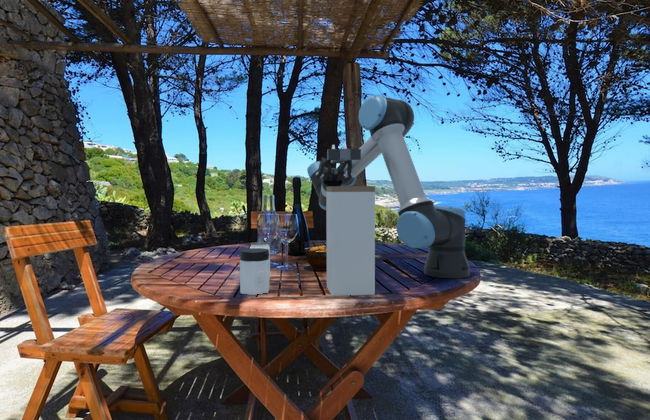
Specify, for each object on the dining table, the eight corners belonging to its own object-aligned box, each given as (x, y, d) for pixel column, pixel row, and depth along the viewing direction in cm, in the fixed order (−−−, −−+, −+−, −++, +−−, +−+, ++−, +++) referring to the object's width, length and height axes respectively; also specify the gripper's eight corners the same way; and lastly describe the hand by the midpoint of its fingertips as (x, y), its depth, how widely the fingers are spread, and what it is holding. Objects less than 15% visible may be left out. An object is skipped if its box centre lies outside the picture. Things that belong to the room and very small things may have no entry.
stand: (326, 286, 130) (326, 186, 128) (365, 285, 131) (365, 186, 130) (331, 296, 118) (331, 186, 117) (374, 294, 119) (375, 186, 118)
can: (274, 279, 140) (273, 242, 140) (261, 283, 135) (260, 244, 134) (259, 277, 144) (258, 241, 143) (245, 280, 138) (245, 243, 138)
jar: (246, 297, 117) (245, 253, 117) (234, 291, 124) (234, 249, 124) (275, 292, 122) (275, 250, 122) (263, 287, 129) (262, 247, 129)
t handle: (321, 163, 150) (321, 154, 150) (350, 163, 151) (350, 154, 151) (328, 159, 130) (328, 148, 130) (361, 159, 131) (361, 148, 131)
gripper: (353, 193, 162) (365, 157, 141) (310, 193, 160) (315, 157, 139) (352, 176, 165) (362, 139, 144) (309, 176, 163) (314, 138, 143)
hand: (339, 148), depth 142 cm, fingers closed on t handle, 3 cm apart
